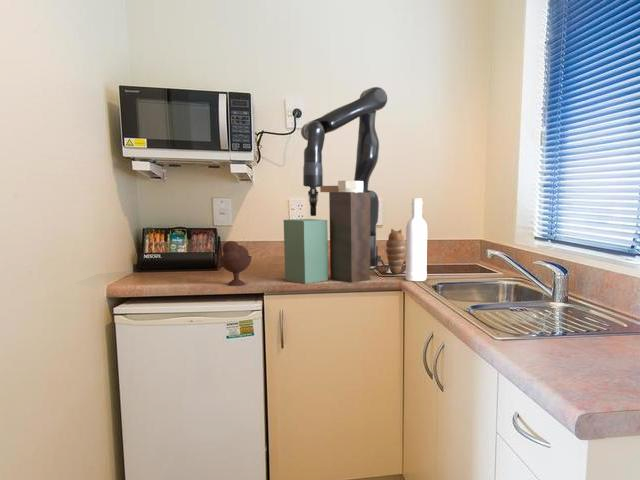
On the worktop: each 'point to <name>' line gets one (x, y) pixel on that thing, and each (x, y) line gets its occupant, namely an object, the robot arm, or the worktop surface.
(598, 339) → the worktop surface
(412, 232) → the bottle
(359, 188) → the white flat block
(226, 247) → the ice cream bowl
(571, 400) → the worktop surface
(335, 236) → the stand
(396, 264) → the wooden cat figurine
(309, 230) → the box
